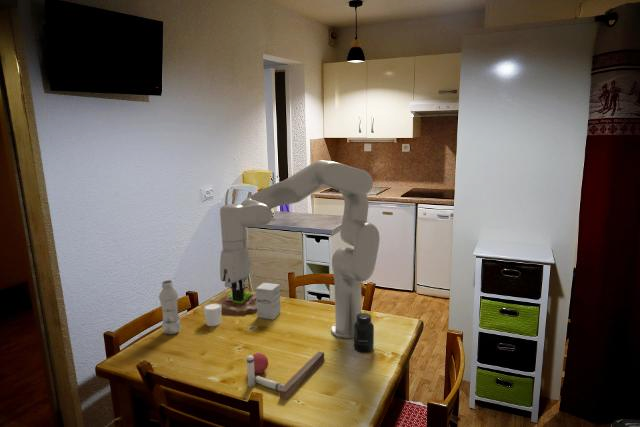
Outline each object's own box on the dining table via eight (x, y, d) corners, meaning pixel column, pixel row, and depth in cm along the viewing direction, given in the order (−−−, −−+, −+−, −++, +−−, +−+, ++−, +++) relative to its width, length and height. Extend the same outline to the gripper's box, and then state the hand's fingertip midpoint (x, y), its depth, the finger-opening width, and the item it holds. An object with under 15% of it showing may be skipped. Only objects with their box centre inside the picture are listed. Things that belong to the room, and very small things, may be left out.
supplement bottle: (360, 355, 146) (360, 321, 144) (349, 347, 152) (349, 314, 150) (377, 350, 150) (377, 317, 147) (366, 342, 156) (366, 310, 153)
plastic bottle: (176, 337, 163) (171, 285, 159) (159, 335, 165) (154, 284, 161) (184, 329, 169) (180, 279, 166) (168, 328, 171) (163, 278, 167)
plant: (224, 297, 201) (222, 274, 199) (266, 298, 200) (265, 274, 198) (210, 316, 182) (208, 290, 180) (257, 316, 180) (255, 290, 178)
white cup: (226, 321, 175) (225, 305, 174) (213, 328, 170) (212, 311, 168) (213, 318, 179) (212, 301, 178) (201, 324, 173) (199, 307, 172)
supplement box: (256, 318, 178) (255, 288, 176) (265, 310, 185) (263, 281, 182) (273, 320, 175) (271, 289, 173) (281, 312, 182) (280, 283, 180)
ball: (256, 347, 137) (256, 351, 142) (244, 363, 134) (244, 367, 139) (272, 358, 136) (271, 362, 141) (261, 375, 133) (260, 378, 138)
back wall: (324, 359, 145) (324, 352, 144) (285, 399, 124) (285, 391, 123) (318, 358, 146) (318, 351, 145) (279, 397, 125) (279, 389, 124)
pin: (258, 374, 133) (282, 382, 128) (260, 378, 134) (284, 387, 129) (253, 379, 131) (278, 388, 126) (256, 384, 132) (280, 393, 127)
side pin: (256, 383, 132) (255, 356, 130) (252, 387, 130) (250, 359, 128) (250, 382, 133) (249, 354, 131) (246, 385, 131) (244, 357, 129)
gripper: (239, 237, 146) (243, 290, 149) (209, 249, 133) (213, 306, 136) (258, 239, 142) (261, 294, 146) (229, 251, 129) (233, 310, 133)
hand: (238, 300), depth 141 cm, fingers closed
